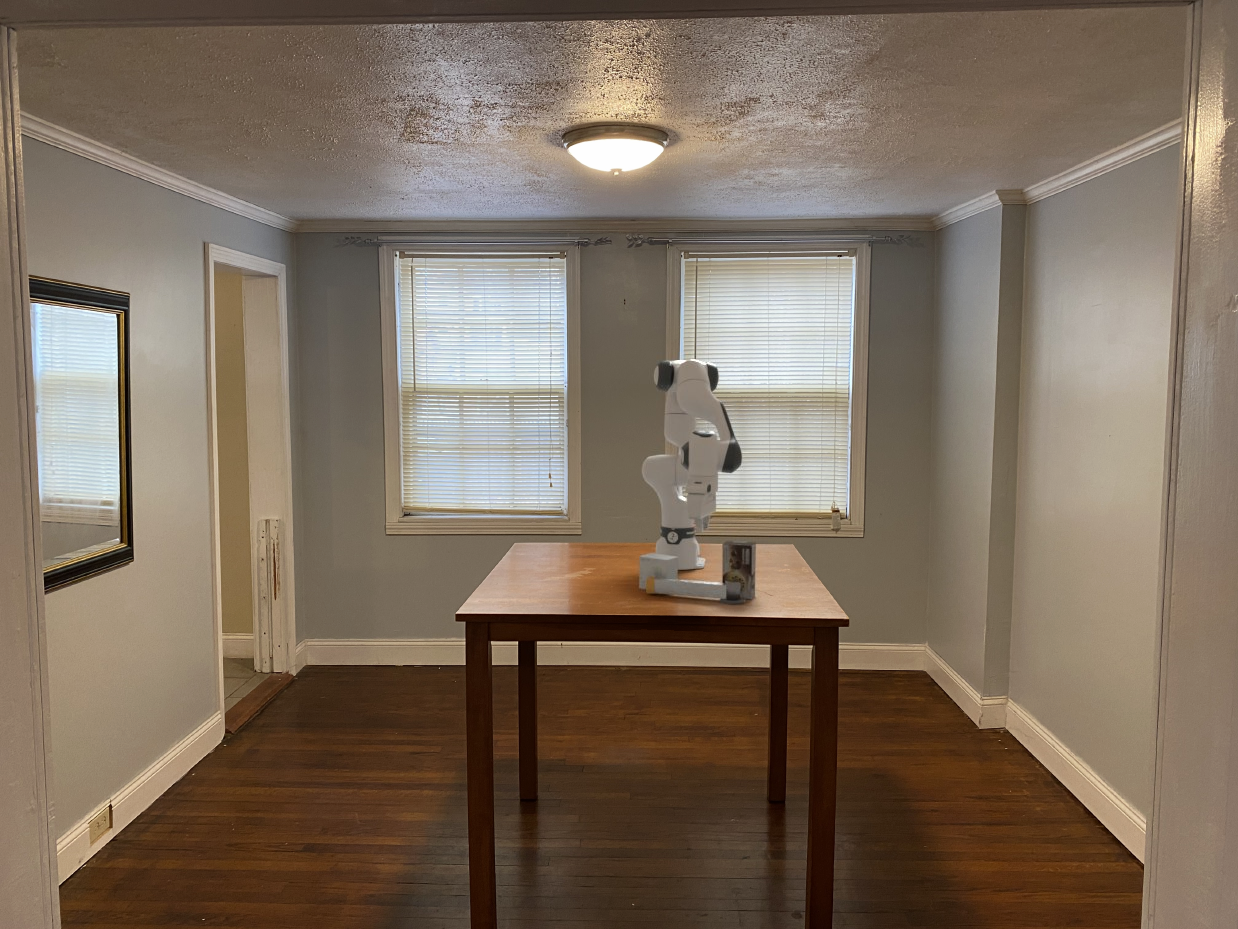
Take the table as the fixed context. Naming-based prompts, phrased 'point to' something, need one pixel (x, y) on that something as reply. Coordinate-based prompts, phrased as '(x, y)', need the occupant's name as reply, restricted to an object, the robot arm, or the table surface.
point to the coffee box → (740, 565)
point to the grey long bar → (694, 588)
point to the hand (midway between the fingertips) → (702, 531)
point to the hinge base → (733, 601)
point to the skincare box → (657, 567)
